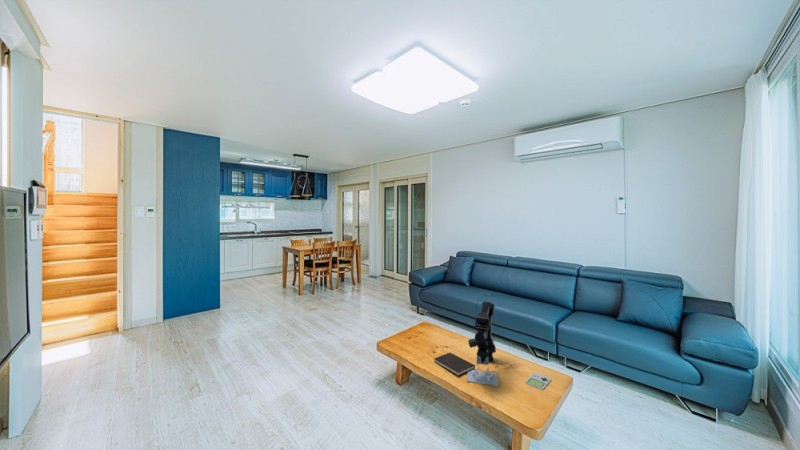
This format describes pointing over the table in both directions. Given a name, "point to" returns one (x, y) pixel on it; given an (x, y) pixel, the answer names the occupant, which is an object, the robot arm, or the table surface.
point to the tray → (482, 377)
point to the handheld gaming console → (538, 381)
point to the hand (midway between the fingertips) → (482, 360)
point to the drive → (481, 361)
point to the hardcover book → (454, 364)
